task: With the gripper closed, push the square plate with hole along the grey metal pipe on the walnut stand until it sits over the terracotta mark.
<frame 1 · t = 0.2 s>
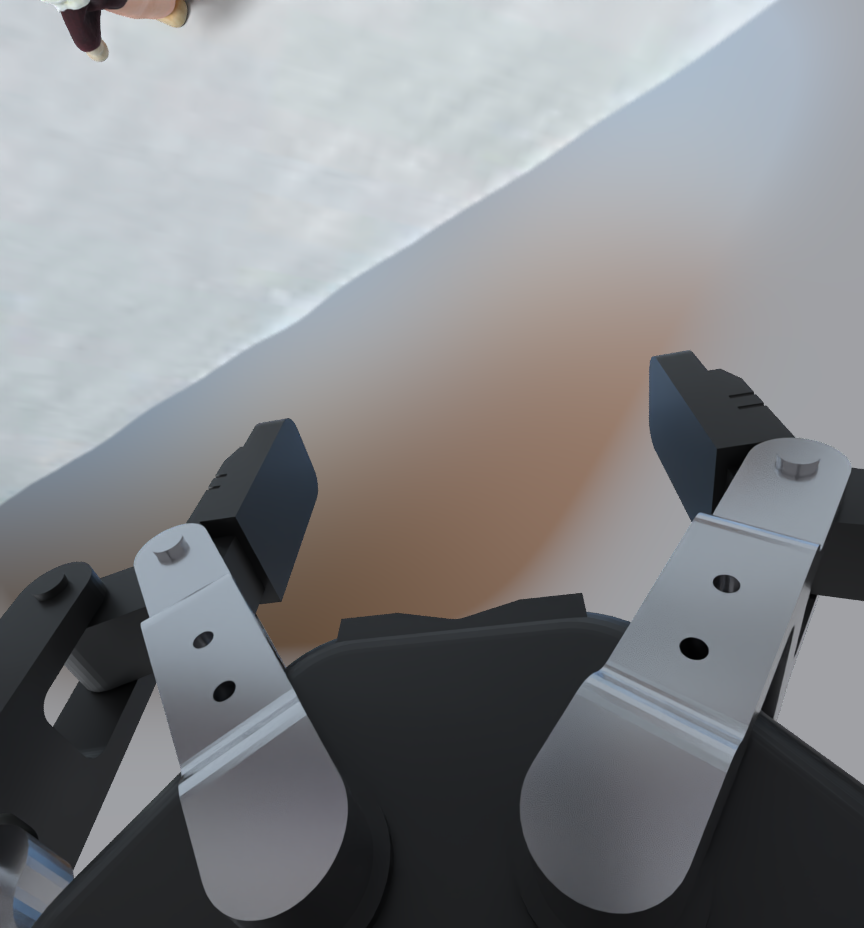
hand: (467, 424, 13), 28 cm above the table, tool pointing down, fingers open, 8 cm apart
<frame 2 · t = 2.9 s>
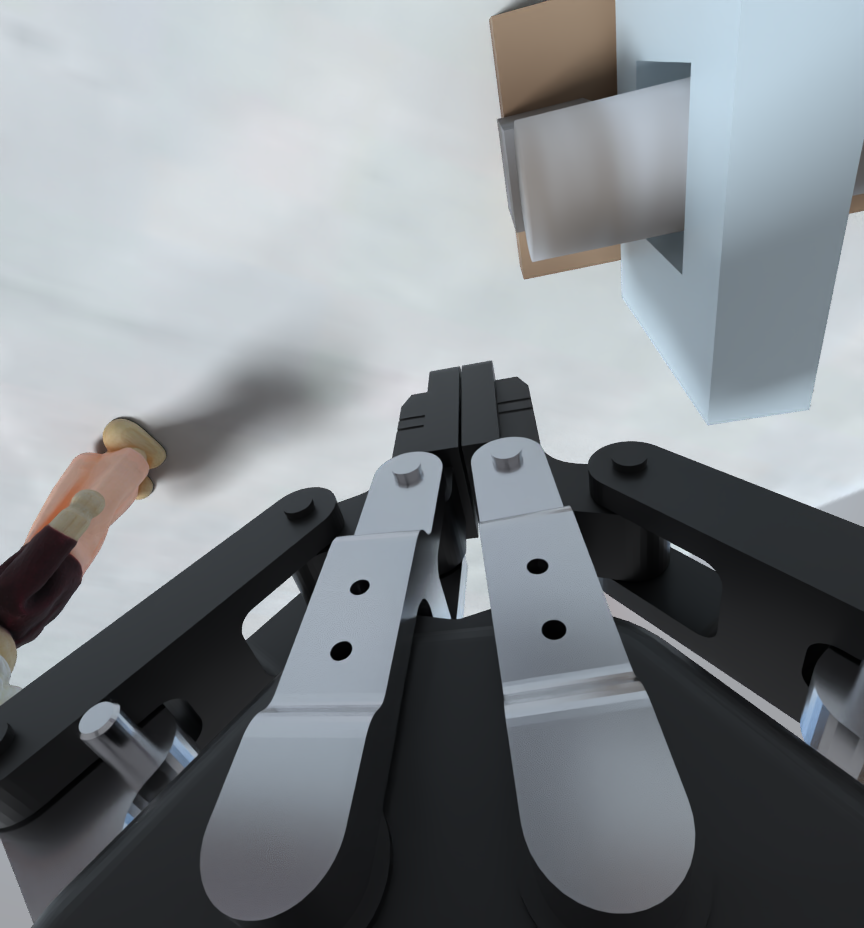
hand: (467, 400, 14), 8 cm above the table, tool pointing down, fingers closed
grandmother figurine: (127, 465, 26), on the table
pipe stand: (776, 91, 16), on the table
square plate with hole: (705, 153, 12), point 6 cm above the table, slide at 0.0 cm
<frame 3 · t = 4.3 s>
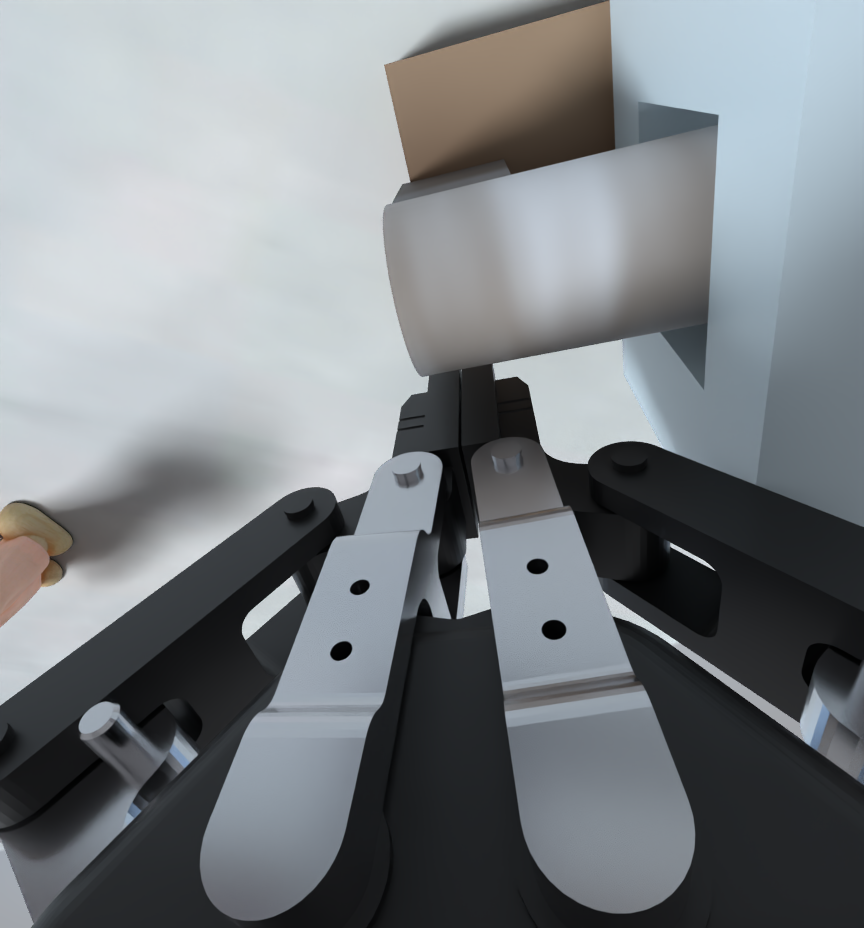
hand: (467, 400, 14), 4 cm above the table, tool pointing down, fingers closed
grandmother figurine: (33, 549, 23), on the table
pipe stand: (743, 146, 14), on the table
square plate with hole: (732, 224, 9), point 6 cm above the table, slide at 1.5 cm, touching hand
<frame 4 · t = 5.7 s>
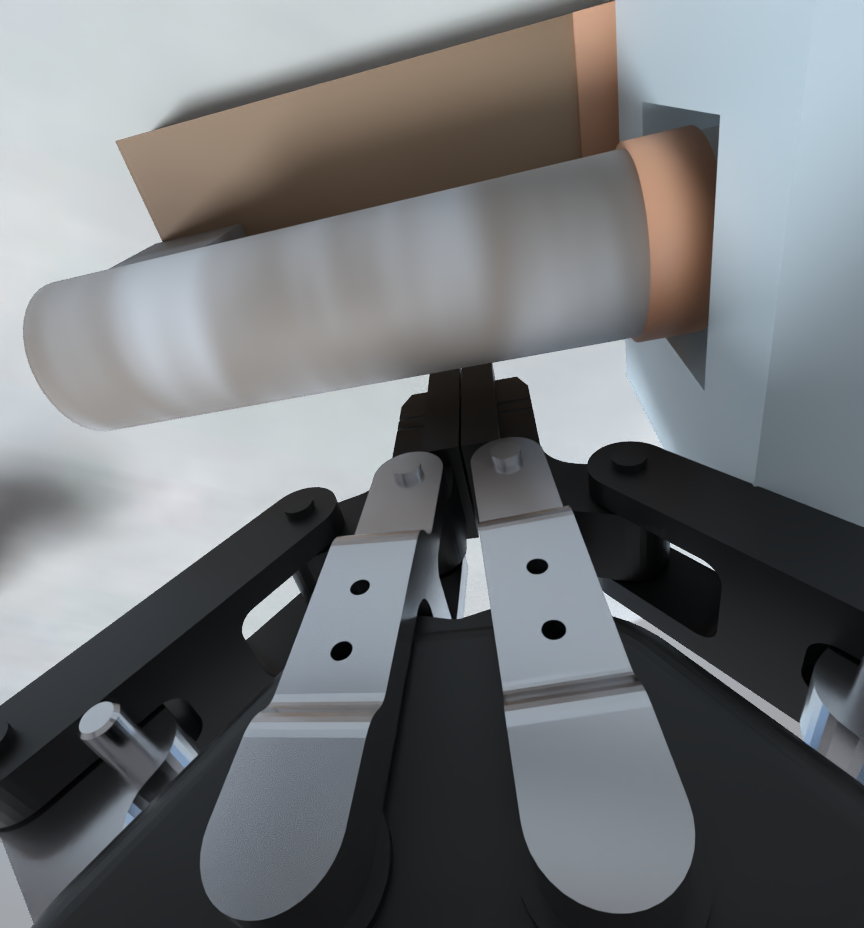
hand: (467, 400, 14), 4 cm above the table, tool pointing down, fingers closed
pipe stand: (478, 209, 15), on the table
square plate with hole: (735, 225, 9), point 6 cm above the table, slide at 8.2 cm, touching hand
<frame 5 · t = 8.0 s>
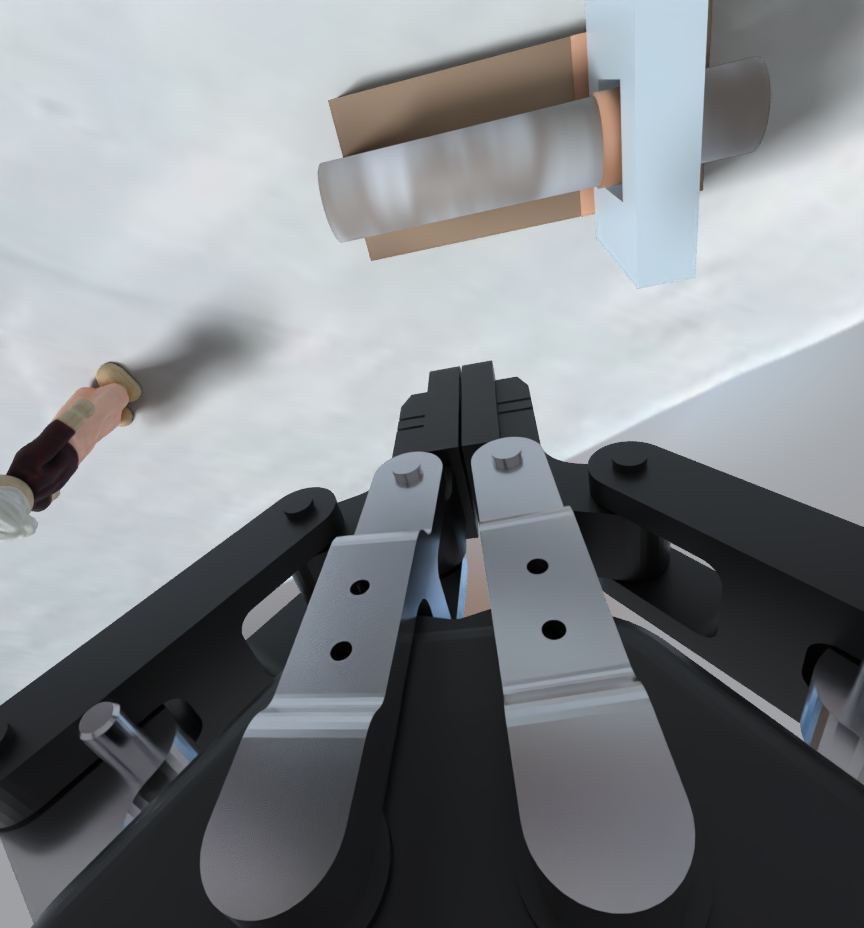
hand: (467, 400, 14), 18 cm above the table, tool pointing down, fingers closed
grandmother figurine: (114, 400, 36), on the table
pipe stand: (517, 143, 26), on the table
square plate with hole: (637, 132, 21), point 6 cm above the table, slide at 8.0 cm
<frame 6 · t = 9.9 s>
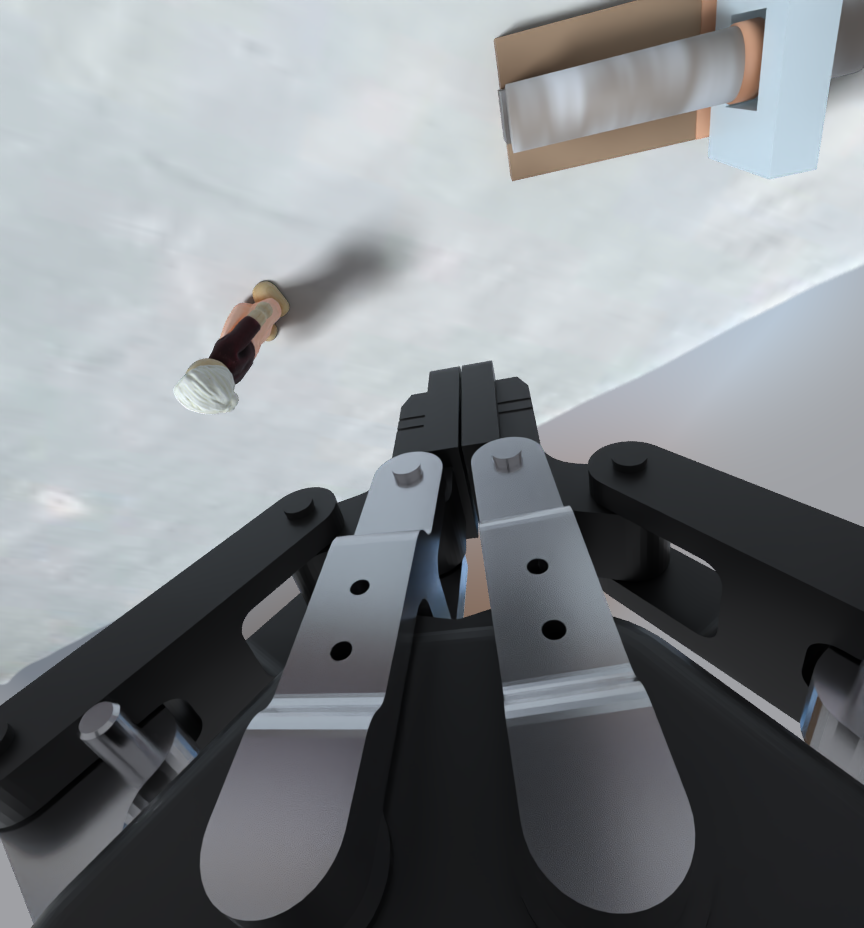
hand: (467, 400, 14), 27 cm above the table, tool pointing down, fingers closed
grandmother figurine: (262, 317, 41), on the table
pipe stand: (643, 77, 32), on the table
square plate with hole: (766, 56, 26), point 6 cm above the table, slide at 8.0 cm
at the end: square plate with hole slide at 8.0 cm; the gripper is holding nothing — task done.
